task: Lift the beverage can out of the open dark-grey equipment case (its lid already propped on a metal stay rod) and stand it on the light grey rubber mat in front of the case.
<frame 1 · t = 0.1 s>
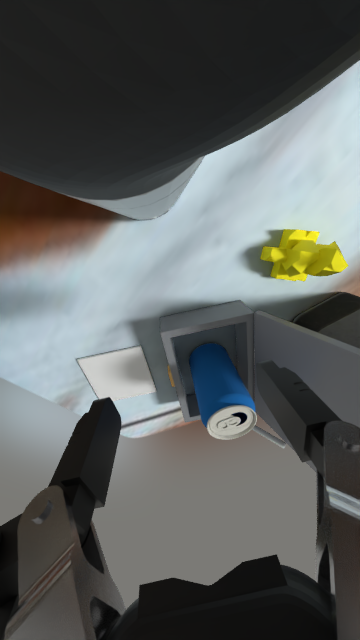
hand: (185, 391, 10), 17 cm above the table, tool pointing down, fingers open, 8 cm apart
case: (207, 356, 31), on the table
beverage can: (207, 356, 31), resting in case
pad: (120, 375, 31), on the table
electronic device: (319, 317, 30), on the table
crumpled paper: (288, 254, 25), on the table
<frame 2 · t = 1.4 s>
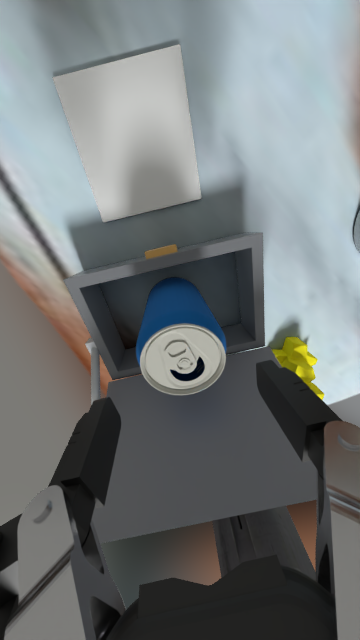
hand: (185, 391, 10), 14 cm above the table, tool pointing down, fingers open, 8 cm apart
case: (174, 302, 23), on the table
beverage can: (174, 301, 23), resting in case
pad: (136, 147, 16), on the table
electronic device: (217, 402, 31), on the table
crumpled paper: (282, 358, 28), on the table
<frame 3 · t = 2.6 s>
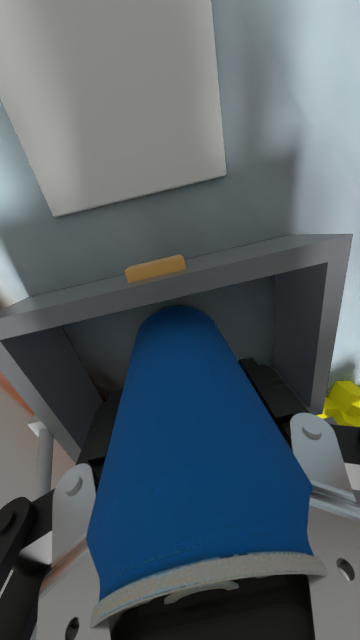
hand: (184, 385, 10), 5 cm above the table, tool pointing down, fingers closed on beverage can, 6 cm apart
case: (177, 340, 15), on the table
beverage can: (177, 338, 15), resting in case, touching gripper
pad: (107, 72, 9), on the table
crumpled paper: (325, 406, 21), on the table
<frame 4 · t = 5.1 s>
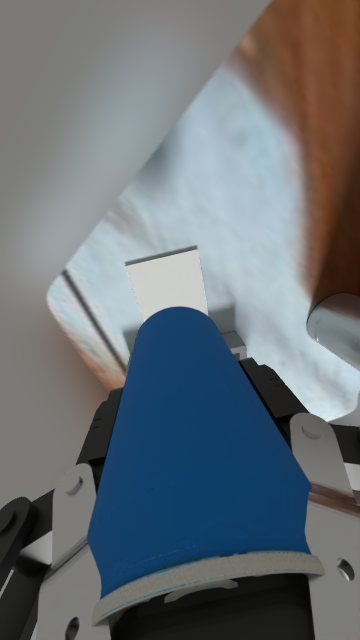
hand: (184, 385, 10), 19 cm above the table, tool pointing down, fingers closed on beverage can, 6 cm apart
case: (189, 370, 33), on the table
beverage can: (177, 339, 15), point 13 cm above the table, touching gripper
pad: (169, 292, 27), on the table
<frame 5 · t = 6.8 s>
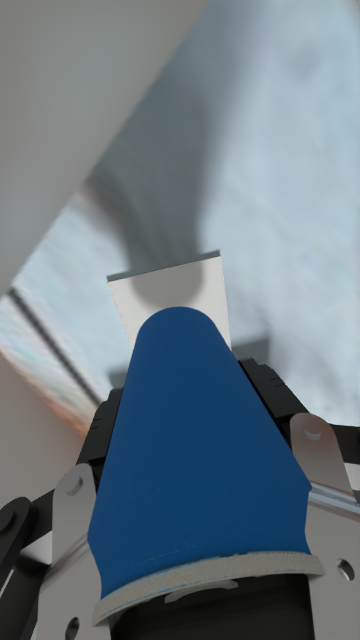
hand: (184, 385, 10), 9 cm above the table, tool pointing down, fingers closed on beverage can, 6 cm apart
beverage can: (177, 339, 15), point 3 cm above the table, touching gripper
pad: (176, 319, 18), on the table
when the fingers open (7 cm above the table, at t = 7.8 s): beverage can drops 1 cm, resting on pad.
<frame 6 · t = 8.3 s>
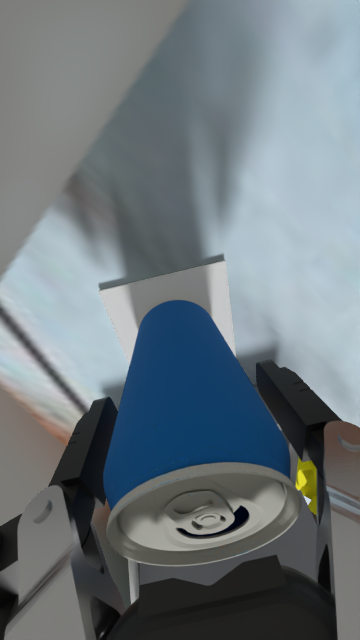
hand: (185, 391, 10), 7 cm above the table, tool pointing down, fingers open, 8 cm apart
case: (202, 434, 23), on the table
beverage can: (176, 331, 16), resting on pad
pad: (176, 330, 17), on the table
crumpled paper: (305, 462, 28), on the table
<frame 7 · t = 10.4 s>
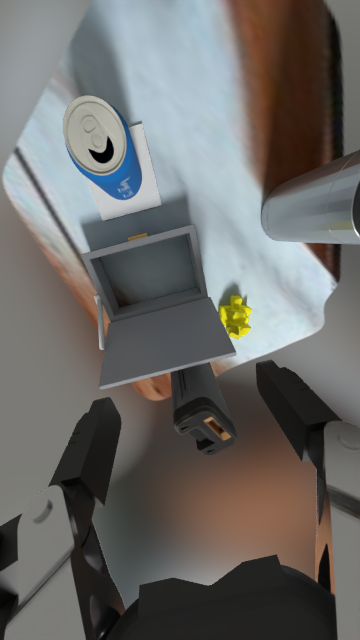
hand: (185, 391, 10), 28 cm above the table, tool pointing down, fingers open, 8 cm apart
case: (150, 272, 35), on the table
beverage can: (121, 176, 28), resting on pad
pad: (121, 176, 28), on the table
electronic device: (187, 349, 43), on the table
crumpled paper: (231, 312, 40), on the table
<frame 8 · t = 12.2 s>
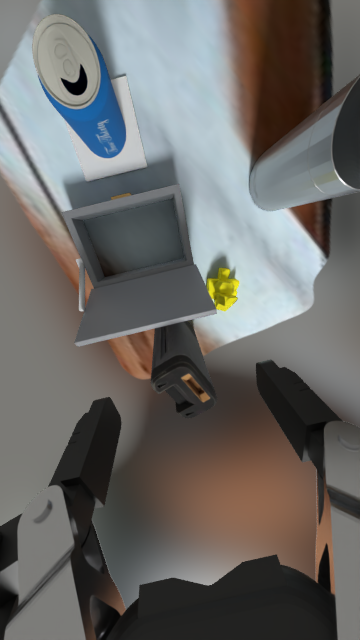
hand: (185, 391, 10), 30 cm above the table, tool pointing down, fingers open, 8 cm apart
case: (136, 240, 34), on the table
beverage can: (105, 133, 28), resting on pad
pad: (105, 134, 28), on the table
electronic device: (175, 325, 42), on the table
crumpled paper: (219, 287, 39), on the table
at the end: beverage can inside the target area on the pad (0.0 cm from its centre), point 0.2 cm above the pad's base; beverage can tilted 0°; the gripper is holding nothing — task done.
